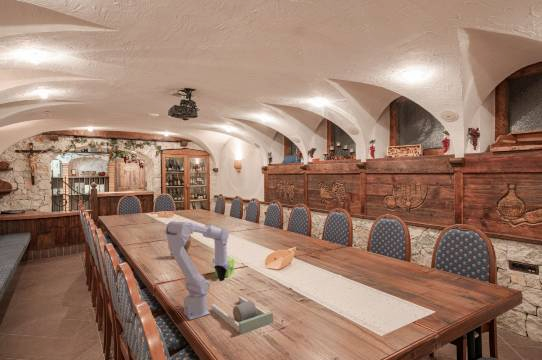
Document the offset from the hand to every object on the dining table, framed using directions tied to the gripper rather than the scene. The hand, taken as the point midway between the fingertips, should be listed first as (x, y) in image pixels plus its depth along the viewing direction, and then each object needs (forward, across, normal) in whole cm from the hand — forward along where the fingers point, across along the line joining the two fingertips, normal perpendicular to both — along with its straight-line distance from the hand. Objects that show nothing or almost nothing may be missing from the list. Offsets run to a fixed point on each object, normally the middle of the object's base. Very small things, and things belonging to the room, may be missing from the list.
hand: (221, 280), depth 151 cm
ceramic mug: (+11, -25, +1) cm, 27 cm away
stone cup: (+11, +92, -13) cm, 93 cm away
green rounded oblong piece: (+11, +34, -20) cm, 41 cm away
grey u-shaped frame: (+10, -18, 0) cm, 21 cm away
